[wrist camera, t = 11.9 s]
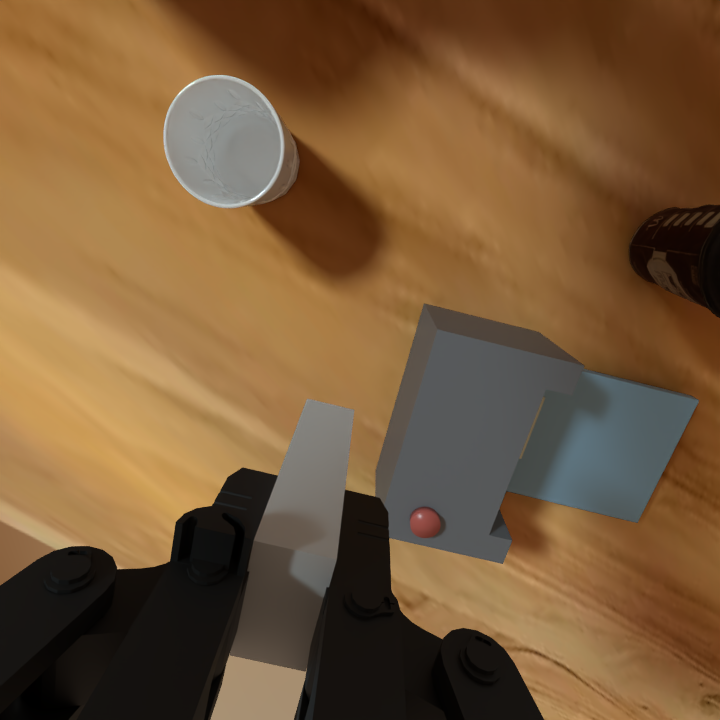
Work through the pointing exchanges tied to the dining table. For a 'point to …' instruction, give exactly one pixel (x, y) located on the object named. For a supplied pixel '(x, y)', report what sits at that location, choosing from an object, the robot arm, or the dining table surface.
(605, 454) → the side door
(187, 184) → the white cup
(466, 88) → the dining table surface
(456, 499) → the grey notched block
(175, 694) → the robot arm
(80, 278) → the dining table surface
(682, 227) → the coffee cup
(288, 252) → the dining table surface
